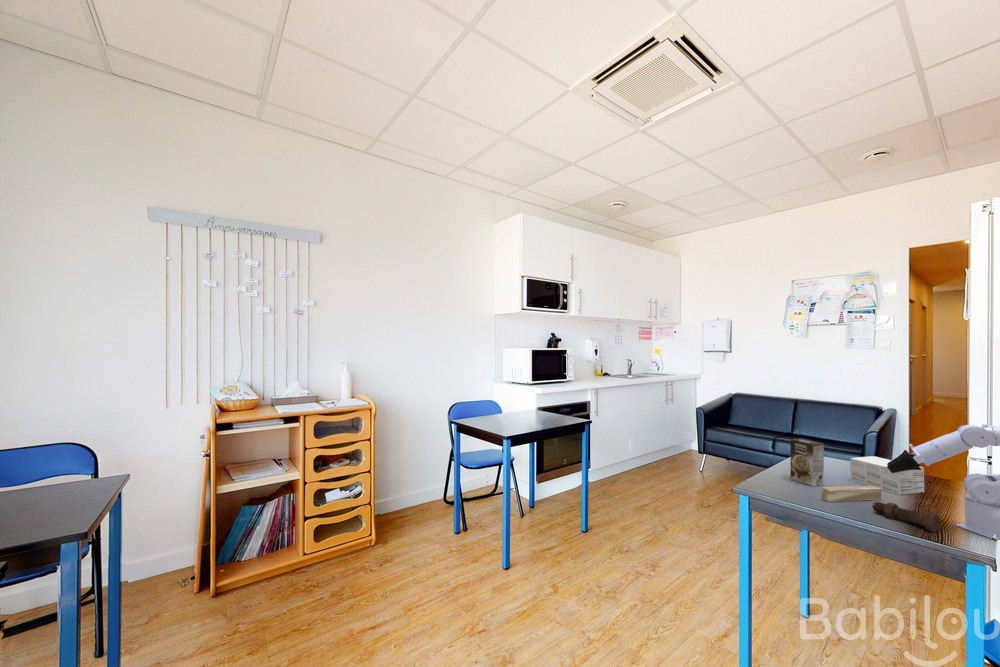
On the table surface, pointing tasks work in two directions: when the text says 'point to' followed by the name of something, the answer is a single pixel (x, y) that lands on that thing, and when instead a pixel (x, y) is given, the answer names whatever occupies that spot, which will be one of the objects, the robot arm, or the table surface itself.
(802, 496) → the table surface
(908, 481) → the supplement box
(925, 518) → the bolt
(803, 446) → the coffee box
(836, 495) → the bar
